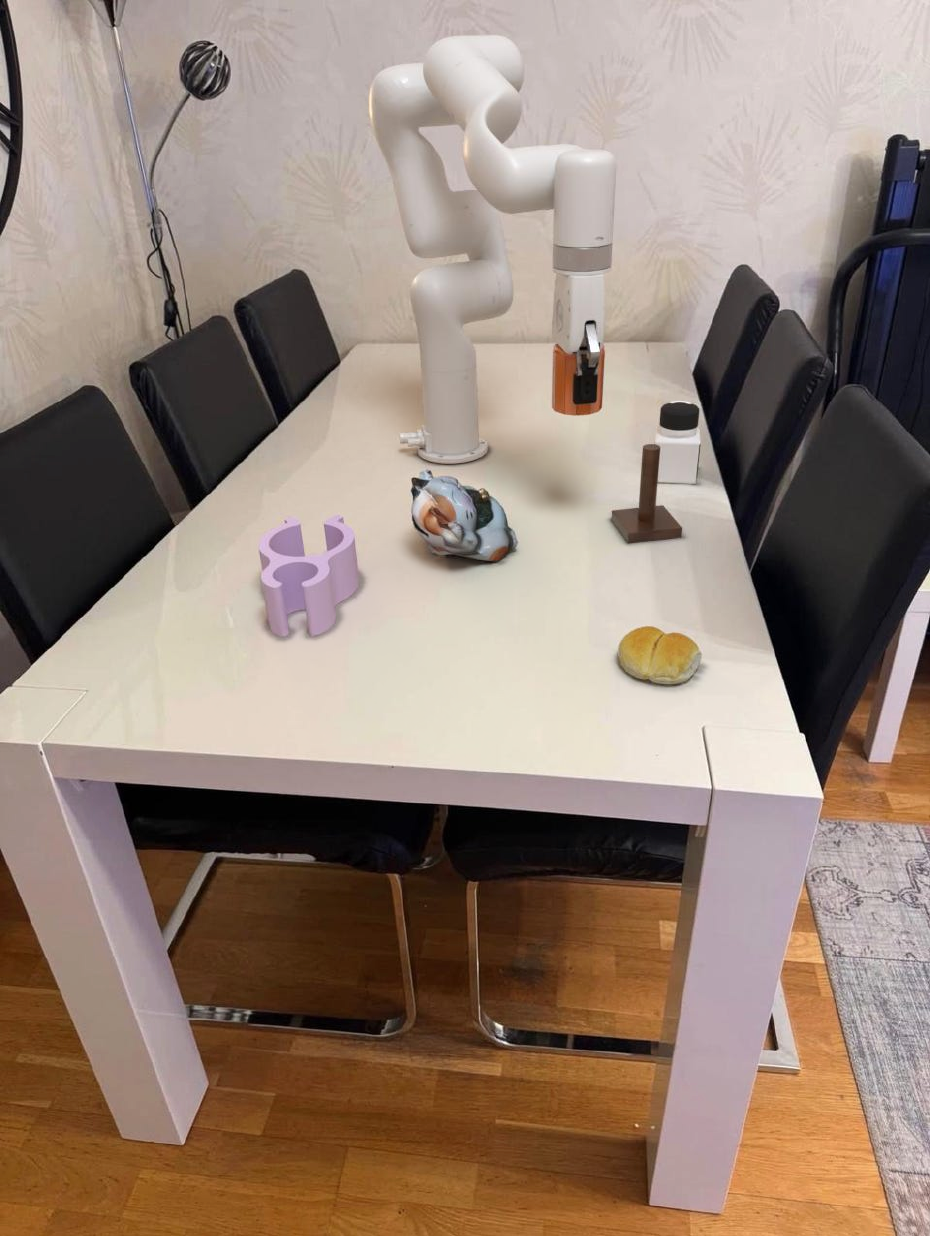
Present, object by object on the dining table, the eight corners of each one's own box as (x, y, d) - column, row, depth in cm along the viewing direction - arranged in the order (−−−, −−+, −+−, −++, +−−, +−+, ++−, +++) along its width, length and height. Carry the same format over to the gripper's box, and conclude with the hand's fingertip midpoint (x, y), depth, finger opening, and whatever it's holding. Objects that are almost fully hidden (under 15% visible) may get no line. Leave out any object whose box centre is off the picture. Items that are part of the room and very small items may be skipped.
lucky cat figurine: (528, 560, 124) (496, 495, 114) (451, 598, 125) (412, 538, 115) (495, 492, 134) (462, 426, 123) (423, 529, 135) (385, 467, 124)
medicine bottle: (696, 484, 144) (704, 412, 138) (651, 482, 146) (656, 411, 140) (695, 468, 150) (703, 398, 144) (652, 466, 152) (657, 396, 146)
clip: (349, 634, 110) (342, 585, 106) (247, 637, 110) (238, 588, 106) (364, 558, 127) (359, 514, 123) (276, 561, 127) (269, 517, 123)
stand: (627, 543, 128) (632, 459, 121) (611, 520, 135) (615, 439, 128) (681, 537, 129) (689, 454, 122) (662, 514, 135) (669, 434, 129)
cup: (558, 417, 122) (560, 354, 118) (547, 401, 128) (548, 341, 124) (607, 413, 123) (610, 351, 119) (593, 397, 129) (596, 337, 124)
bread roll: (634, 637, 107) (636, 608, 105) (707, 658, 102) (710, 628, 100) (604, 672, 101) (605, 642, 99) (680, 695, 97) (683, 665, 95)
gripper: (538, 248, 122) (537, 378, 132) (570, 273, 107) (566, 417, 117) (592, 245, 123) (586, 374, 132) (631, 269, 108) (622, 412, 118)
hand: (577, 393), depth 125 cm, fingers closed on cup, 6 cm apart
